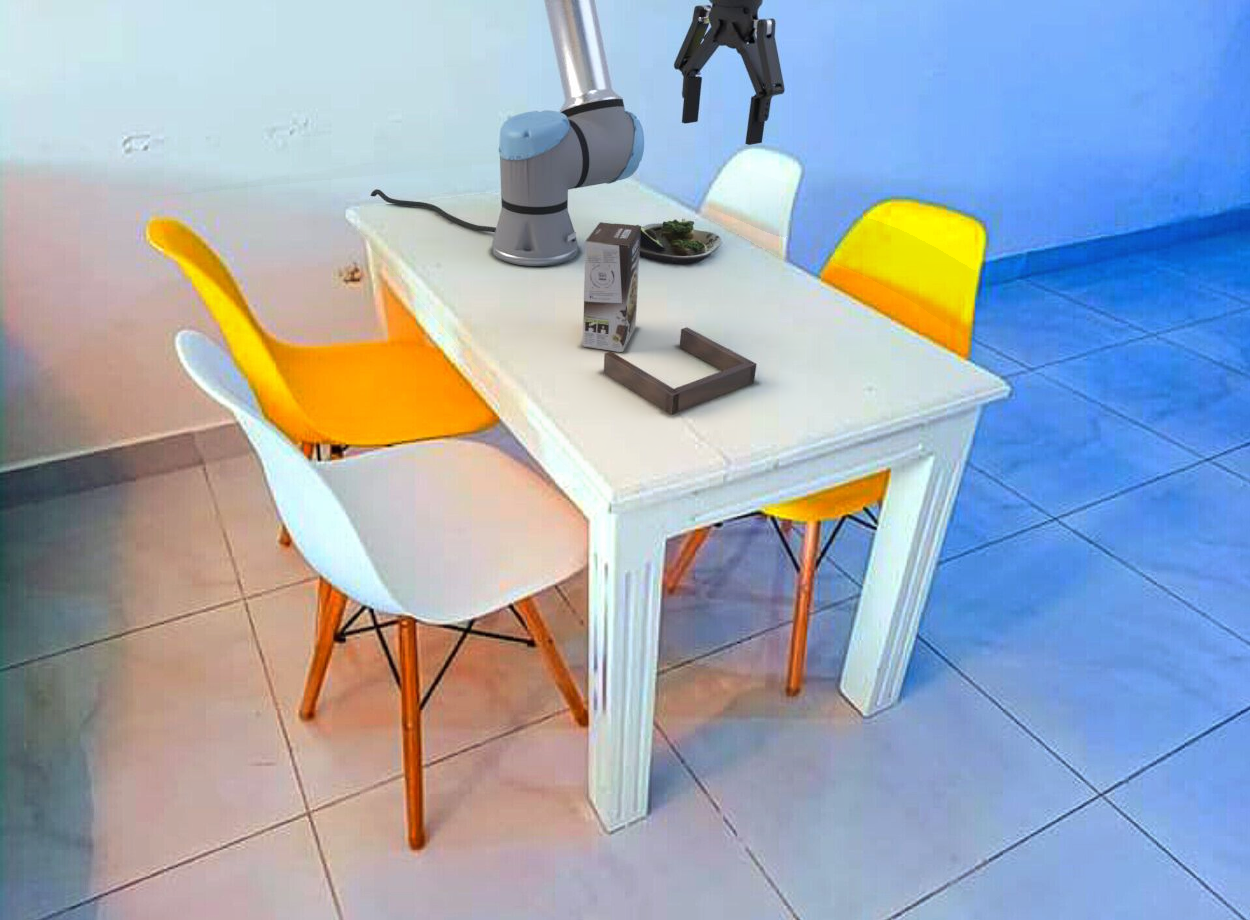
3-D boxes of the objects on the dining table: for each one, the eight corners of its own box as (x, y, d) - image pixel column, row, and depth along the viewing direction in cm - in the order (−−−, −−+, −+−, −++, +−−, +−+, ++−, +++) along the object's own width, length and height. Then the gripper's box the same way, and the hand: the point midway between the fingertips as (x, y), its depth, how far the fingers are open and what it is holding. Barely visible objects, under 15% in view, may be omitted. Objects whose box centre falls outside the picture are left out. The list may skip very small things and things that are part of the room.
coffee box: (624, 353, 132) (629, 245, 124) (581, 347, 133) (583, 240, 125) (637, 327, 140) (643, 224, 131) (596, 322, 141) (599, 219, 132)
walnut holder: (603, 372, 127) (604, 353, 125) (685, 345, 136) (686, 326, 134) (671, 415, 118) (672, 394, 116) (754, 382, 127) (756, 363, 125)
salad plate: (654, 222, 182) (655, 199, 179) (737, 240, 175) (739, 216, 173) (606, 250, 167) (607, 225, 165) (694, 271, 161) (697, 246, 158)
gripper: (658, -38, 131) (647, 116, 143) (788, -14, 116) (764, 156, 127) (695, -38, 135) (682, 111, 147) (826, -16, 120) (800, 149, 132)
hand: (720, 132), depth 137 cm, fingers open, 13 cm apart
